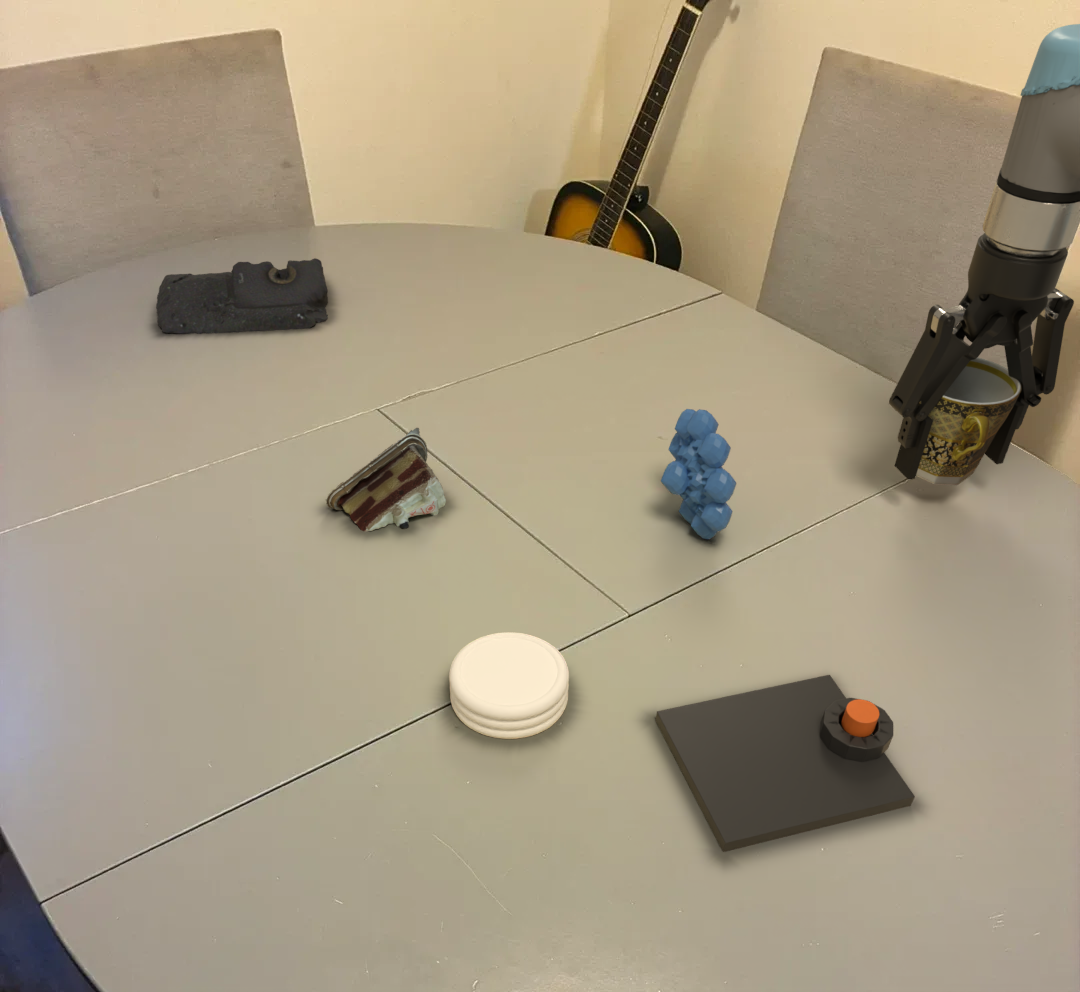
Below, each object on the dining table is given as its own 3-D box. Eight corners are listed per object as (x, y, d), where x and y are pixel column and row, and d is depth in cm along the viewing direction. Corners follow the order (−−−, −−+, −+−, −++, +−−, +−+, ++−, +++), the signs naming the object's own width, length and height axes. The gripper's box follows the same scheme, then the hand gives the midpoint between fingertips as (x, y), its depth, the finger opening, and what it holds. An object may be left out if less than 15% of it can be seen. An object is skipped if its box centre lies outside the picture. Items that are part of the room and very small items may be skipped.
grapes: (632, 498, 108) (643, 394, 100) (691, 487, 110) (707, 384, 101) (677, 564, 101) (693, 458, 92) (739, 552, 102) (761, 446, 94)
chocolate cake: (353, 553, 102) (433, 466, 98) (318, 503, 104) (395, 415, 100) (408, 569, 110) (484, 489, 106) (374, 522, 112) (447, 442, 108)
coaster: (440, 734, 85) (437, 705, 82) (462, 652, 92) (461, 623, 89) (560, 748, 84) (561, 719, 82) (574, 664, 91) (575, 635, 88)
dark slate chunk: (164, 285, 140) (155, 250, 136) (328, 277, 143) (324, 242, 139) (154, 339, 130) (144, 302, 126) (330, 329, 132) (325, 292, 129)
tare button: (863, 711, 84) (869, 696, 83) (880, 733, 82) (885, 718, 81) (835, 717, 84) (840, 702, 82) (851, 740, 82) (856, 725, 81)
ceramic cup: (880, 441, 111) (905, 352, 103) (973, 443, 111) (1005, 355, 103) (906, 510, 102) (935, 419, 94) (1008, 513, 102) (1045, 422, 94)
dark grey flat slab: (839, 682, 90) (847, 658, 88) (924, 804, 81) (935, 779, 79) (654, 722, 86) (658, 697, 84) (722, 854, 77) (728, 830, 75)
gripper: (1104, 210, 94) (1019, 430, 110) (889, 237, 89) (833, 461, 106) (1160, 242, 89) (1063, 467, 105) (936, 272, 85) (870, 502, 101)
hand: (948, 464), depth 105 cm, fingers closed on ceramic cup, 9 cm apart
